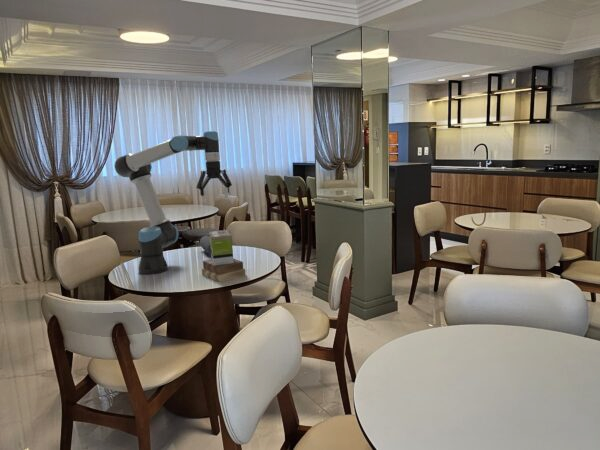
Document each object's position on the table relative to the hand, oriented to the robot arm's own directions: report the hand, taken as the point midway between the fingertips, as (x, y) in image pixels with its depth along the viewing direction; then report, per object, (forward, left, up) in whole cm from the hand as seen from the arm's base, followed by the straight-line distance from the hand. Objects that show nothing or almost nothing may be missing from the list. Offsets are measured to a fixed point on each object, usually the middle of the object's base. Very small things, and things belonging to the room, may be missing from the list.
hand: (215, 200), depth 234 cm
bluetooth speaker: (-32, +12, -37) cm, 50 cm away
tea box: (+17, -8, -29) cm, 35 cm away
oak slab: (+17, -8, -37) cm, 42 cm away
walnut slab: (+17, -8, -33) cm, 38 cm away
